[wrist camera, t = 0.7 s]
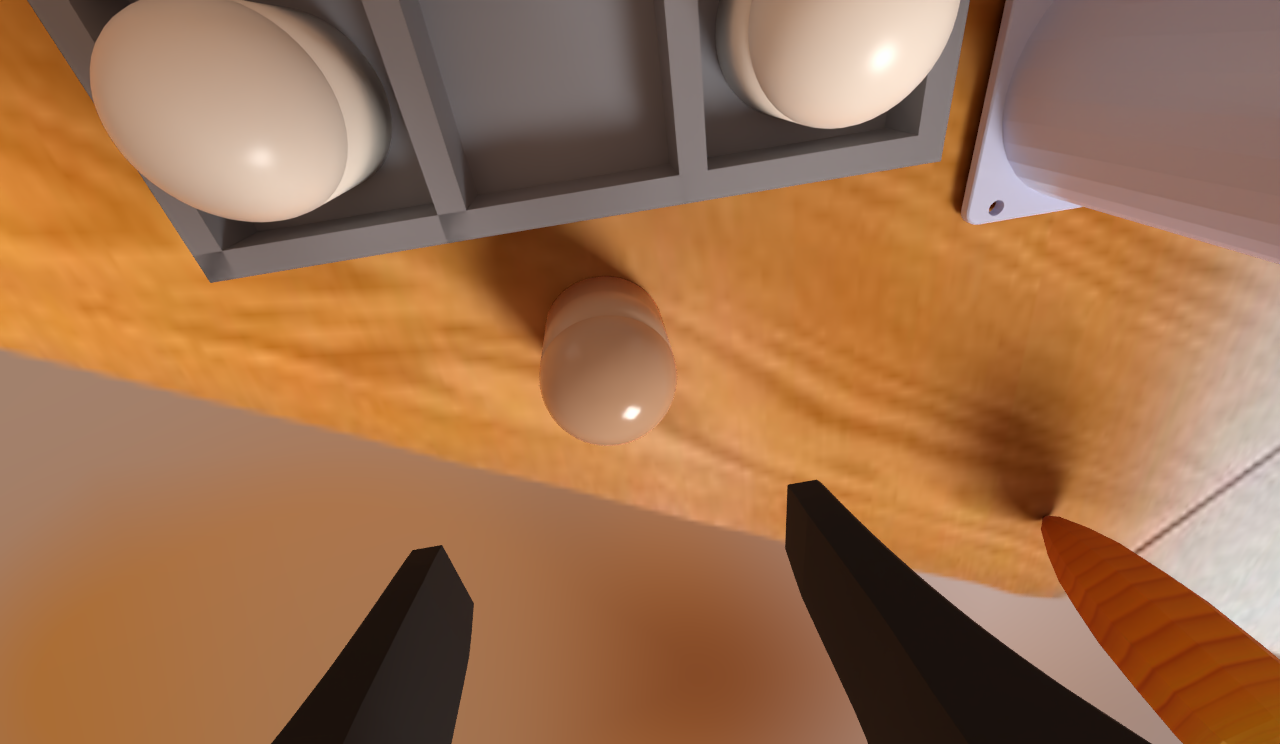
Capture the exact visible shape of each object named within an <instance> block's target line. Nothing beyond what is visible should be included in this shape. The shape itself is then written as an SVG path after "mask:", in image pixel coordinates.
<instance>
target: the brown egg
mask: <svg viewBox="0 0 1280 744" xmlns="http://www.w3.org/2000/svg"><path fill="white" fill-rule="evenodd" d="M539 381H540V389H541V394H542V398H543V401H544V403H545V406H546V408H547V410H548V411H549V413H550V415H551V416H552V418H553V419H554V420H555V421H556V423H557V424H558V425H559V426H560V427H561V428H562V429H563V430H565V431H566V432H567V433H569V434H570V435H572V436H574V437H575V438H577V439H579V440H581V441H584V442H587V443H590V444H594V445H601V446H615V445H622V444H626V443H629V442H632V441H635V440H637V439H639V438H641V437H643V436H645V435H646V434H647V433H649V432H650V431H651V430H653V429H654V428H655V427H656V426H657V425H658V424H659V423H660V422H661V420H662V419H663V418H664V416H665V415H666V413H667V412H668V410H669V408H670V406H671V404H672V402H673V398H674V395H675V391H676V384H677V369H676V364H675V359H674V355H673V352H672V349H671V346H670V343H669V339H668V336H667V333H666V330H665V327H664V323H663V320H662V317H661V314H660V311H659V309H658V307H657V305H656V303H655V301H654V300H653V299H652V297H651V296H650V295H649V294H648V293H647V292H646V291H645V290H644V289H642V288H641V287H640V286H638V285H636V284H634V283H633V282H630V281H628V280H625V279H622V278H618V277H611V276H600V277H592V278H588V279H584V280H582V281H579V282H577V283H575V284H573V285H571V286H570V287H568V288H567V289H566V290H564V291H563V292H562V293H561V294H560V295H559V296H558V297H557V299H556V300H555V301H554V303H553V304H552V306H551V308H550V310H549V313H548V316H547V320H546V326H545V333H544V341H543V348H542V356H541V364H540V373H539Z"/></svg>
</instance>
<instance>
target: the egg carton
mask: <svg viewBox="0 0 1280 744" xmlns="http://www.w3.org/2000/svg"><path fill="white" fill-rule="evenodd" d="M27 1H28V2H29V4H30V5H31V7H32V8H33V10H34V11H35V13H36V15H37V16H38V18H39V19H40V21H41V22H42V24H43V25H44V27H45V28H46V30H47V31H48V33H49V35H50V36H51V38H52V39H53V41H54V42H55V44H56V45H57V47H58V48H59V50H60V52H61V53H62V55H63V56H64V58H65V59H66V61H67V62H68V64H69V65H70V67H71V68H72V70H73V72H74V73H75V75H76V76H77V78H78V79H79V81H80V82H81V84H82V85H83V87H84V89H85V90H86V92H87V93H88V95H89V96H90V98H91V99H92V101H93V102H94V104H95V107H96V110H97V113H98V115H99V117H100V120H101V122H102V124H103V126H104V128H105V130H106V131H107V133H108V135H109V136H110V138H111V140H112V141H113V142H114V144H115V145H116V147H117V148H118V149H119V151H120V152H121V153H122V154H123V155H124V157H125V158H126V159H127V160H128V161H129V162H130V163H131V164H132V165H133V166H134V167H135V168H136V169H137V170H138V172H139V173H140V175H141V176H142V178H143V179H144V181H145V183H146V184H147V186H148V187H149V189H150V190H151V192H152V193H153V195H154V196H155V198H156V200H157V201H158V203H159V204H160V206H161V207H162V209H163V210H164V212H165V213H166V215H167V216H168V218H169V220H170V221H171V223H172V224H173V226H174V227H175V229H176V230H177V232H178V233H179V235H180V237H181V238H182V240H183V241H184V243H185V244H186V246H187V247H188V249H189V250H190V252H191V253H192V255H193V257H194V258H195V260H196V261H197V263H198V264H199V266H200V267H201V269H202V270H203V272H204V274H205V275H206V277H207V278H208V280H209V281H210V283H212V282H218V281H224V280H230V279H236V278H242V277H248V276H254V275H260V274H266V273H272V272H278V271H284V270H290V269H296V268H302V267H308V266H314V265H320V264H326V263H332V262H338V261H344V260H350V259H356V258H362V257H368V256H374V255H380V254H386V253H392V252H398V251H404V250H410V249H416V248H422V247H428V246H434V245H440V244H446V243H452V242H458V241H464V240H470V239H476V238H482V237H488V236H494V235H500V234H506V233H512V232H518V231H524V230H530V229H536V228H542V227H548V226H554V225H560V224H566V223H572V222H578V221H584V220H590V219H596V218H602V217H608V216H614V215H620V214H626V213H632V212H638V211H644V210H650V209H656V208H662V207H668V206H674V205H680V204H686V203H692V202H698V201H704V200H710V199H716V198H722V197H728V196H734V195H740V194H746V193H752V192H758V191H764V190H770V189H776V188H782V187H788V186H794V185H800V184H806V183H812V182H818V181H824V180H830V179H836V178H842V177H848V176H854V175H860V174H866V173H872V172H878V171H884V170H890V169H896V168H902V167H908V166H914V165H920V164H926V163H932V162H938V161H941V157H942V151H943V146H944V140H945V135H946V129H947V124H948V118H949V112H950V107H951V101H952V96H953V90H954V85H955V79H956V74H957V68H958V63H959V57H960V52H961V46H962V41H963V35H964V30H965V24H966V18H967V13H968V7H969V2H970V0H27Z"/></svg>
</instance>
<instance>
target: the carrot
mask: <svg viewBox="0 0 1280 744" xmlns="http://www.w3.org/2000/svg"><path fill="white" fill-rule="evenodd" d="M1041 531H1042V535H1043V539H1044V542H1045V546H1046V550H1047V554H1048V556H1049V559H1050V561H1051V564H1052V566H1053V568H1054V571H1055V573H1056V575H1057V578H1058V580H1059V582H1060V584H1061V585H1062V587H1063V589H1064V590H1065V592H1066V593H1067V595H1068V597H1069V598H1070V600H1071V602H1072V603H1073V605H1074V606H1075V608H1076V610H1077V611H1078V612H1079V614H1080V616H1081V617H1082V619H1083V620H1084V622H1085V623H1086V625H1087V626H1088V628H1089V629H1090V631H1091V632H1092V634H1093V635H1094V637H1095V638H1096V639H1097V641H1098V643H1099V644H1100V645H1101V646H1102V648H1103V649H1104V650H1105V651H1106V653H1107V654H1108V655H1109V656H1110V657H1111V659H1112V660H1113V661H1114V662H1115V664H1116V665H1117V666H1118V667H1119V669H1120V670H1121V671H1122V672H1123V674H1124V675H1125V676H1126V677H1127V679H1128V680H1129V681H1130V682H1131V683H1132V685H1133V686H1134V687H1135V688H1136V689H1137V691H1138V692H1139V693H1140V694H1141V695H1142V697H1143V698H1144V699H1145V700H1146V701H1147V702H1148V704H1149V705H1150V706H1151V707H1152V708H1153V710H1154V711H1155V712H1156V713H1157V714H1158V715H1159V717H1160V718H1161V719H1162V720H1163V721H1164V723H1165V724H1166V725H1167V726H1168V727H1169V728H1170V730H1171V731H1172V732H1173V733H1174V734H1175V736H1176V737H1177V738H1178V739H1179V740H1180V741H1181V742H1182V743H1183V744H1280V660H1279V659H1278V658H1277V657H1276V656H1275V655H1273V654H1272V653H1271V652H1270V651H1269V650H1267V649H1266V648H1265V647H1264V646H1263V645H1261V644H1260V643H1259V642H1258V641H1256V640H1255V639H1254V638H1253V637H1251V636H1250V635H1249V634H1248V633H1246V632H1245V631H1244V630H1243V629H1241V628H1240V627H1239V626H1238V625H1236V624H1235V623H1234V622H1233V621H1231V620H1230V619H1229V618H1228V617H1226V616H1225V615H1224V614H1223V613H1221V612H1220V611H1219V610H1218V609H1216V608H1215V607H1214V606H1212V605H1211V604H1210V603H1209V602H1207V601H1206V600H1204V599H1203V598H1201V597H1200V596H1199V595H1197V594H1196V593H1194V592H1193V591H1191V590H1190V589H1188V588H1187V587H1185V586H1184V585H1183V584H1181V583H1180V582H1178V581H1177V580H1175V579H1174V578H1172V577H1171V576H1169V575H1168V574H1166V573H1165V572H1163V571H1162V570H1160V569H1159V568H1157V567H1156V566H1154V565H1152V564H1151V563H1149V562H1148V561H1146V560H1145V559H1143V558H1142V557H1140V556H1138V555H1137V554H1135V553H1134V552H1132V551H1131V550H1129V549H1128V548H1126V547H1124V546H1123V545H1121V544H1120V543H1118V542H1116V541H1114V540H1112V539H1110V538H1108V537H1106V536H1104V535H1102V534H1100V533H1098V532H1096V531H1094V530H1092V529H1090V528H1087V527H1085V526H1082V525H1079V524H1077V523H1074V522H1072V521H1069V520H1066V519H1064V518H1061V517H1056V516H1045V517H1043V520H1042V526H1041Z"/></svg>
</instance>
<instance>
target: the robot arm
mask: <svg viewBox="0 0 1280 744" xmlns="http://www.w3.org/2000/svg"><path fill="white" fill-rule="evenodd" d="M995 201H996V205H995V207H994V208H993V209H992V210H991V211H990V212H989V208H990V206H991V204H993V203H994V202H995ZM1079 207H1087V208H1090V209H1093V210H1097V211H1100V212H1104V213H1107V214H1110V215H1114V216H1117V217H1121V218H1124V219H1128V220H1131V221H1134V222H1138V223H1141V224H1145V225H1148V226H1151V227H1155V228H1158V229H1162V230H1165V231H1168V232H1172V233H1175V234H1179V235H1182V236H1185V237H1189V238H1192V239H1196V240H1199V241H1203V242H1206V243H1209V244H1213V245H1216V246H1220V247H1223V248H1226V249H1230V250H1233V251H1237V252H1240V253H1243V254H1247V255H1250V256H1254V257H1257V258H1260V259H1264V260H1267V261H1271V262H1274V263H1278V264H1280V0H1006V2H1005V7H1004V12H1003V16H1002V21H1001V26H1000V31H999V35H998V40H997V45H996V49H995V54H994V59H993V63H992V68H991V73H990V78H989V82H988V87H987V92H986V96H985V101H984V106H983V110H982V115H981V120H980V125H979V129H978V134H977V139H976V143H975V148H974V153H973V157H972V162H971V167H970V172H969V176H968V181H967V186H966V190H965V195H964V200H963V204H962V209H961V216H962V218H963V220H965V221H966V222H968V223H971V224H976V225H978V224H984V223H990V222H996V221H1002V220H1008V219H1014V218H1020V217H1026V216H1032V215H1037V214H1043V213H1049V212H1055V211H1061V210H1067V209H1073V208H1079ZM785 549H786V552H787V555H788V558H789V561H790V564H791V567H792V570H793V573H794V576H795V579H796V582H797V585H798V587H799V590H800V593H801V596H802V598H803V601H804V602H805V605H806V607H807V609H808V611H809V614H810V616H811V618H812V620H813V622H814V624H815V627H816V629H817V631H818V633H819V635H820V637H821V640H822V642H823V644H824V646H825V648H826V650H827V653H828V655H829V657H830V659H831V661H832V663H833V665H834V667H835V670H836V672H837V674H838V676H839V678H840V680H841V682H842V685H843V687H844V689H845V691H846V693H847V695H848V697H849V700H850V702H851V704H852V706H853V708H854V710H855V713H856V715H857V718H858V720H859V722H860V725H861V727H862V729H863V732H864V734H865V736H866V739H867V742H868V744H1151V743H1150V742H1148V741H1147V740H1145V739H1143V738H1142V737H1140V736H1139V735H1137V734H1135V733H1134V732H1133V731H1131V730H1130V729H1128V728H1126V727H1125V726H1123V725H1122V724H1120V723H1119V722H1117V721H1116V720H1114V719H1113V718H1111V717H1110V716H1108V715H1107V714H1105V713H1103V712H1102V711H1100V710H1099V709H1097V708H1096V707H1094V706H1093V705H1091V704H1090V703H1088V702H1087V701H1085V700H1083V699H1082V698H1080V697H1079V696H1077V695H1076V694H1074V693H1073V692H1071V691H1070V690H1068V689H1066V688H1065V687H1064V686H1062V685H1061V684H1059V683H1058V682H1056V681H1055V680H1054V679H1052V678H1051V677H1049V676H1048V675H1046V674H1045V673H1044V672H1042V671H1041V670H1039V669H1038V668H1037V667H1035V666H1034V665H1032V664H1031V663H1029V662H1028V661H1027V660H1025V659H1024V658H1022V657H1021V656H1019V655H1018V654H1017V653H1015V652H1014V651H1013V650H1011V649H1010V648H1009V647H1007V646H1006V645H1005V644H1003V643H1002V642H1000V641H999V640H998V639H997V638H995V637H994V636H993V635H991V634H990V633H989V632H987V631H986V630H985V629H983V628H982V627H981V626H980V625H978V624H977V623H976V622H974V621H973V620H972V619H970V618H969V617H968V616H967V615H965V614H964V613H963V612H962V611H960V610H959V609H958V608H957V607H956V606H954V605H953V604H952V603H951V602H949V601H948V600H947V599H946V598H945V597H943V596H942V595H941V594H940V593H939V592H937V591H936V590H935V589H934V588H933V587H931V586H930V585H929V584H928V583H927V582H925V581H924V580H923V579H922V578H921V577H920V576H918V575H917V574H916V573H915V572H914V571H913V570H912V569H911V568H909V567H908V566H907V565H906V564H905V563H904V562H903V561H902V560H901V559H899V558H898V557H897V556H896V555H895V554H894V553H893V552H892V551H891V550H889V549H888V548H887V547H886V546H885V545H884V544H883V543H882V542H881V541H880V540H879V539H877V538H876V537H875V536H874V535H873V534H872V533H871V532H870V531H869V530H868V529H867V528H866V527H865V526H864V525H863V524H862V523H861V522H860V521H859V520H858V519H857V518H856V517H855V516H854V515H853V514H851V513H850V512H849V511H848V510H847V509H846V508H845V507H844V506H843V505H842V504H841V503H840V502H839V501H838V499H837V498H836V497H835V496H834V495H833V494H832V493H831V492H830V491H829V490H828V489H827V488H826V487H825V486H824V485H823V484H822V483H821V482H819V481H818V480H812V481H807V482H801V483H795V484H789V485H788V489H787V517H786V544H785ZM473 607H474V603H473V601H472V599H471V597H470V596H469V594H468V592H467V590H466V588H465V587H464V585H463V583H462V581H461V579H460V577H459V576H458V574H457V572H456V570H455V568H454V566H453V564H452V563H451V561H450V559H449V557H448V555H447V553H446V552H445V550H444V548H443V546H442V545H440V546H434V547H429V548H423V549H417V550H413V551H412V552H411V553H410V555H409V556H408V557H407V559H406V560H405V562H404V563H403V565H402V566H401V568H400V569H399V570H398V572H397V573H396V575H395V576H394V577H393V579H392V580H391V582H390V583H389V585H388V586H387V588H386V589H385V591H384V592H383V593H382V595H381V596H380V598H379V599H378V601H377V602H376V604H375V605H374V607H373V608H372V609H371V611H370V612H369V614H368V615H367V617H366V618H365V620H364V621H363V622H362V624H361V625H360V627H359V628H358V629H357V631H356V632H355V634H354V635H353V636H352V638H351V639H350V641H349V642H348V644H347V645H346V646H345V648H344V649H343V650H342V652H341V653H340V655H339V656H338V657H337V659H336V660H335V662H334V663H333V664H332V666H331V667H330V669H329V670H328V671H327V673H326V674H325V675H324V676H323V678H322V679H321V680H320V682H319V683H318V684H317V686H316V687H315V688H314V690H313V691H312V692H311V693H310V695H309V696H308V697H307V699H306V700H305V702H304V703H303V704H302V705H301V707H300V708H299V709H298V710H297V712H296V713H295V714H294V716H293V717H292V718H291V720H290V721H289V722H288V723H287V725H286V726H285V727H284V728H283V730H282V731H281V732H280V734H279V735H278V736H277V737H276V739H275V740H274V741H273V742H272V743H271V744H451V743H452V738H453V733H454V728H455V723H456V719H457V714H458V709H459V704H460V699H461V694H462V690H463V685H464V680H465V675H466V670H467V664H468V659H469V652H470V643H471V633H472V620H473Z"/></svg>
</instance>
